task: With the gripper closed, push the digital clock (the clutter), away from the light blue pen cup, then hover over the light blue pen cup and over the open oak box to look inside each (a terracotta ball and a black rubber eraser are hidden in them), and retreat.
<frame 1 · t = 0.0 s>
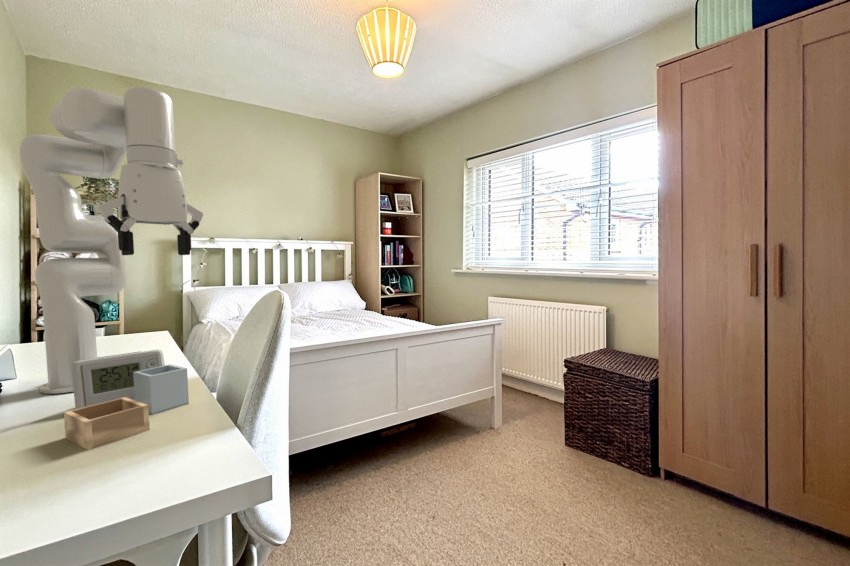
hand: (157, 254, 78), 31 cm above the table, fingers open, 9 cm apart
digital clock: (123, 406, 89), on the table
light blue pen cup: (162, 408, 86), on the table, touching ball
ball: (161, 397, 86), point 2 cm above the table, touching light blue pen cup
eraser: (106, 435, 72), point 1 cm above the table, touching oak box
oak box: (108, 437, 72), on the table, touching eraser
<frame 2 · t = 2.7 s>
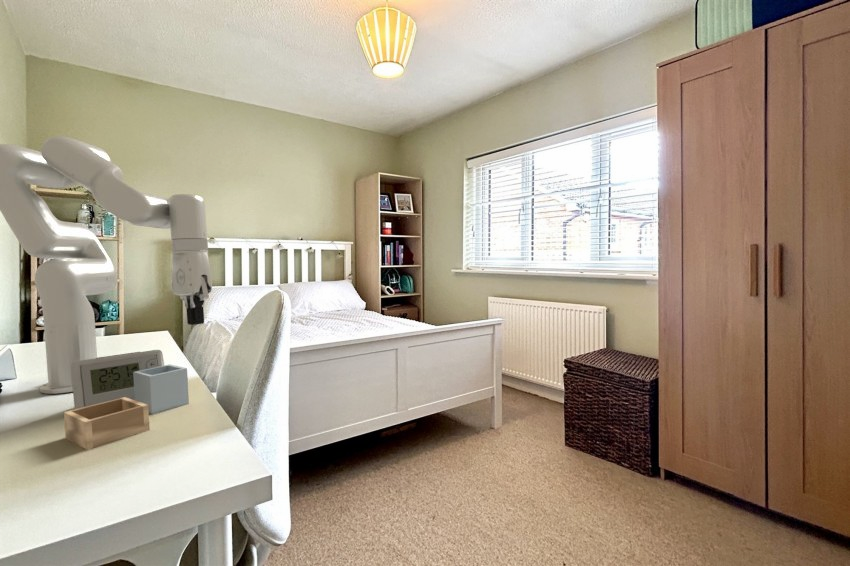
hand: (196, 323, 101), 15 cm above the table, fingers closed
nothing on the table moved.
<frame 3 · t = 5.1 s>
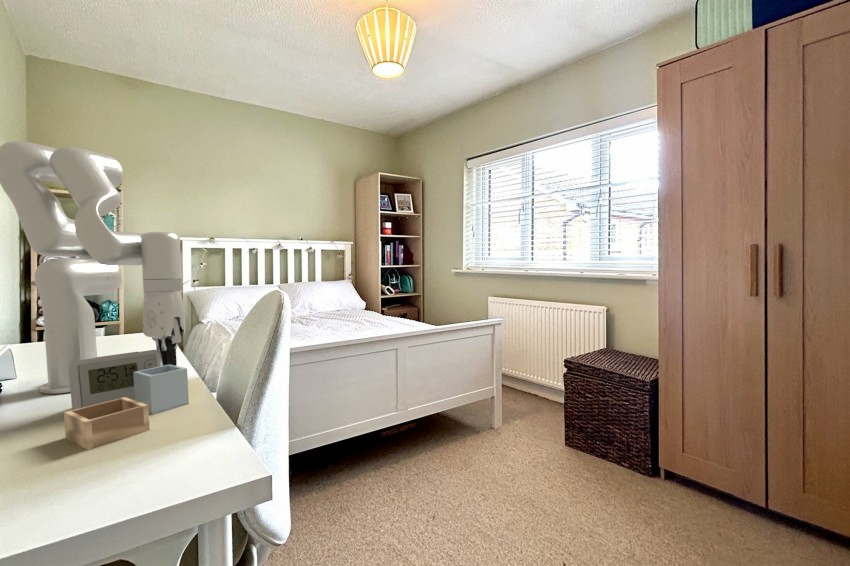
hand: (167, 366, 96), 6 cm above the table, fingers closed
digital clock: (121, 406, 89), on the table, touching gripper
everything else where it was.
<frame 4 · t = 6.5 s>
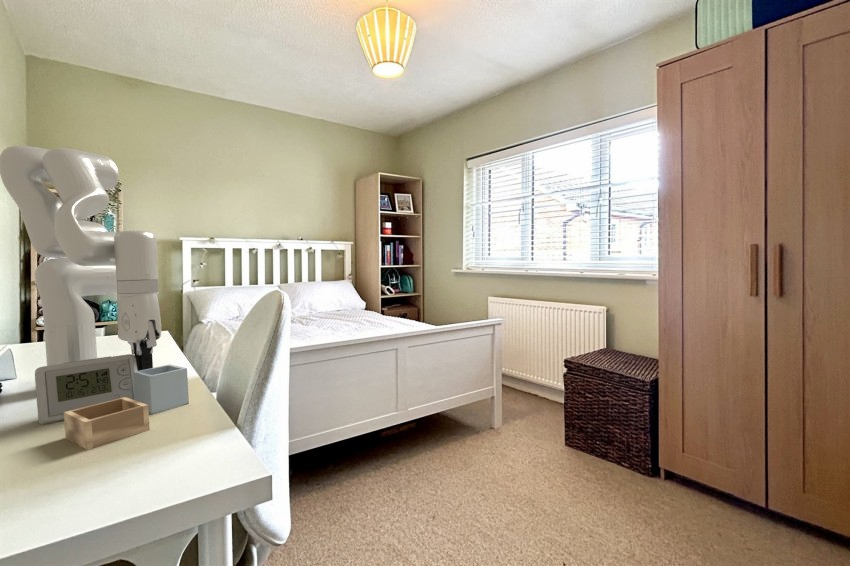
hand: (143, 371, 92), 6 cm above the table, fingers closed
digital clock: (92, 414, 84), on the table, touching gripper
everything else where it was.
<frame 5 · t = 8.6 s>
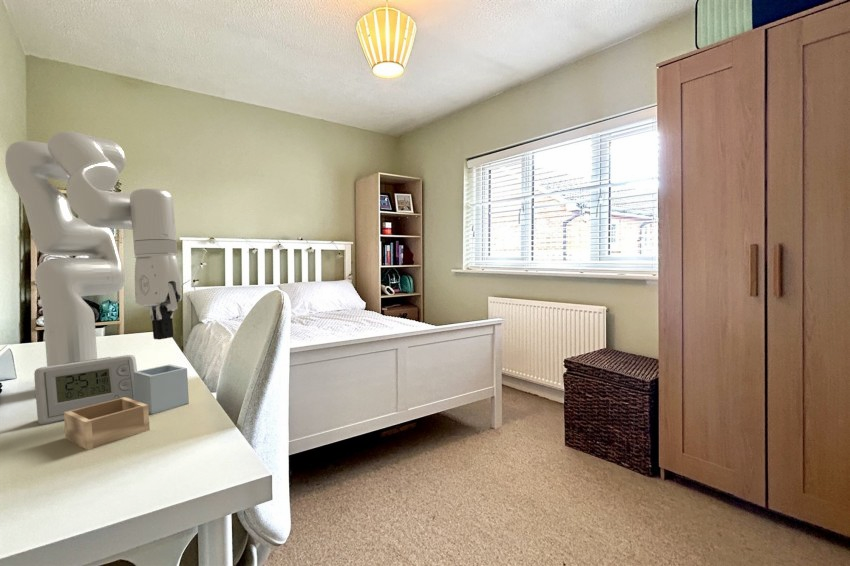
hand: (163, 338, 88), 14 cm above the table, fingers closed
digital clock: (92, 415, 84), on the table
everything else where it was.
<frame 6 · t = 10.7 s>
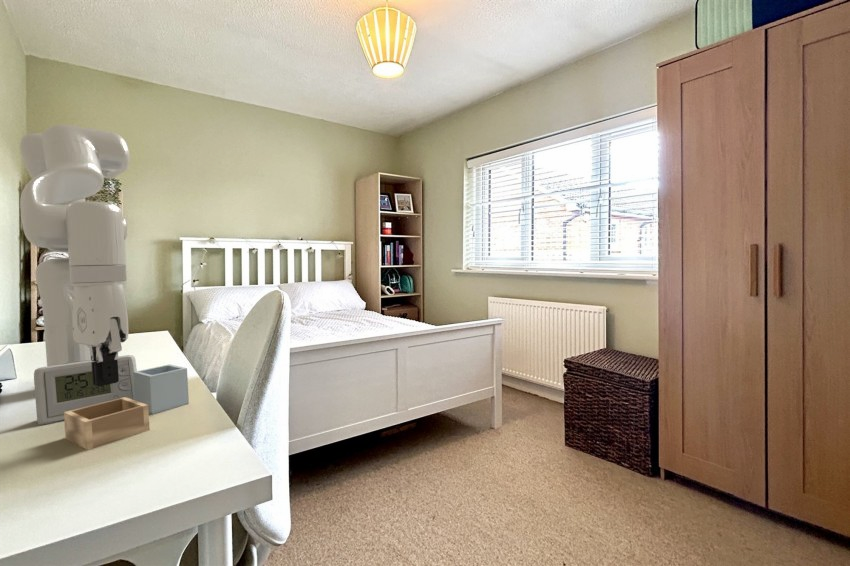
hand: (106, 383, 72), 9 cm above the table, fingers closed
nothing on the table moved.
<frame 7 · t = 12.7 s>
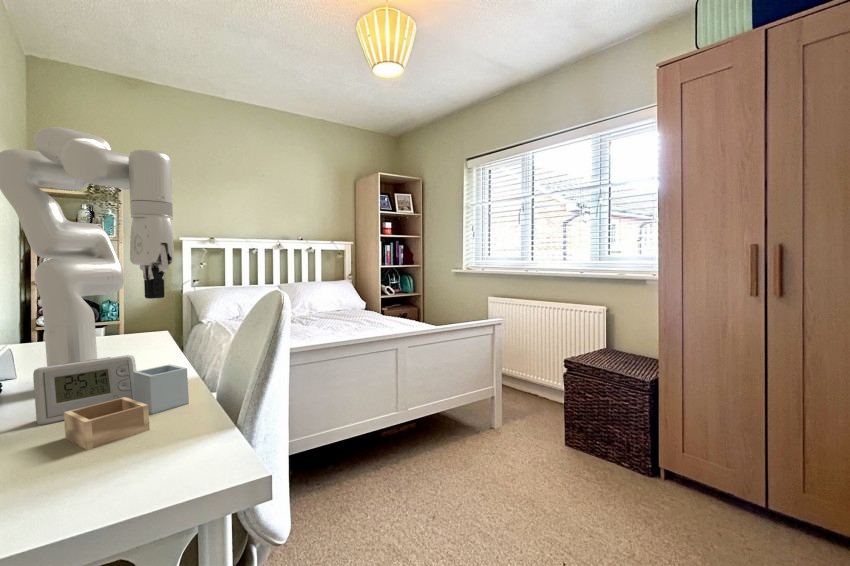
hand: (154, 297, 90), 22 cm above the table, fingers closed
nothing on the table moved.
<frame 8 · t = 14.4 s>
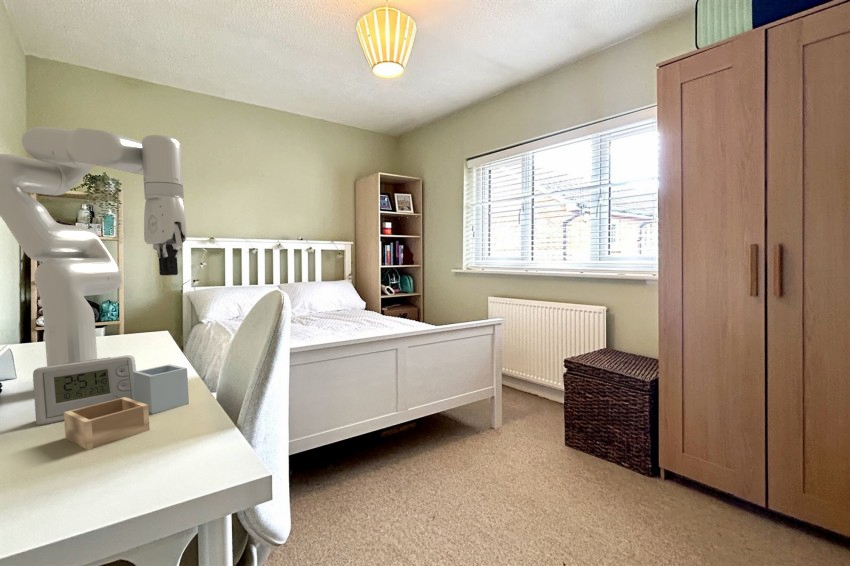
hand: (168, 275, 96), 27 cm above the table, fingers closed
nothing on the table moved.
at the end: digital clock inside the target area (0.9 cm from its centre), on the table; digital clock tilted 0°; light blue pen cup moved 0.0 cm from its start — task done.
